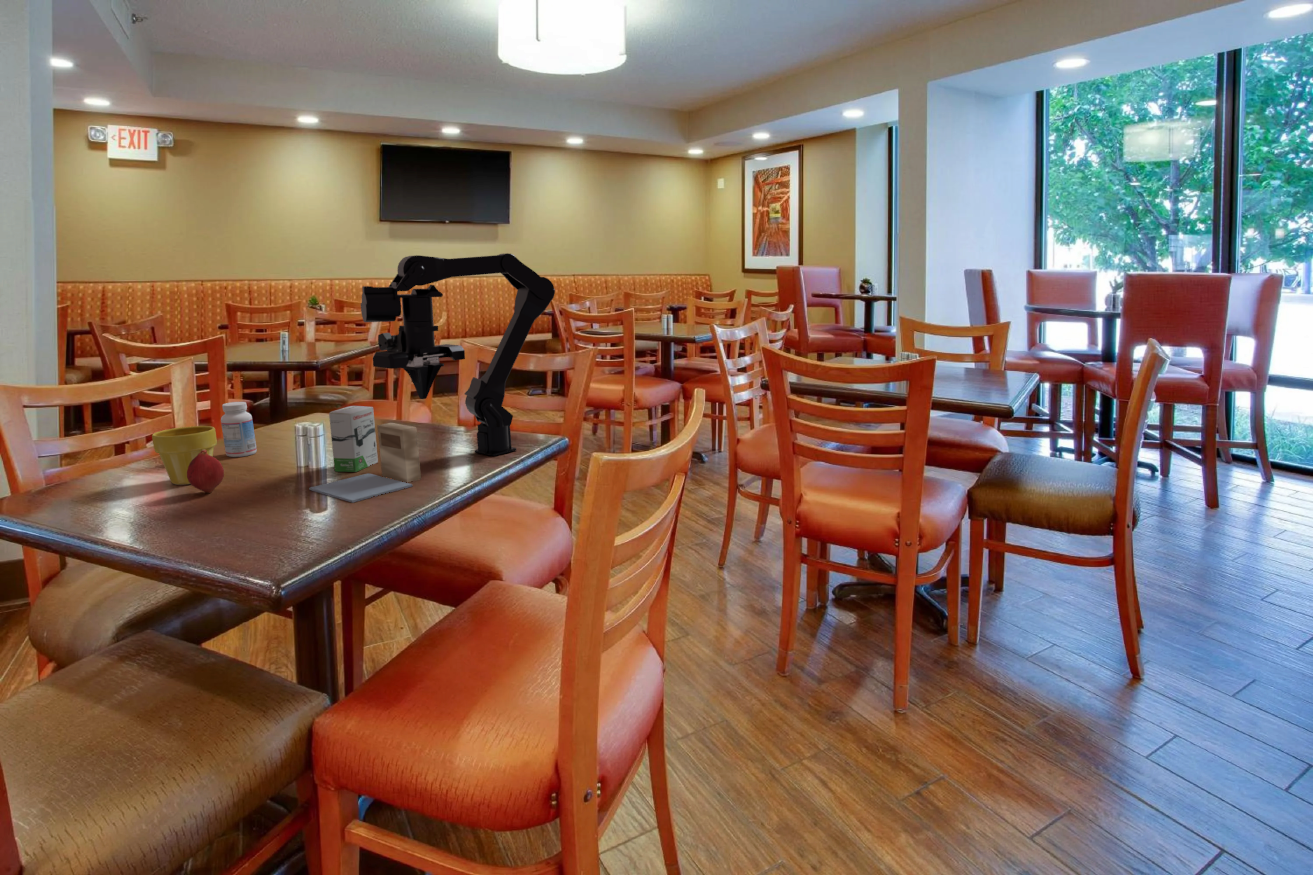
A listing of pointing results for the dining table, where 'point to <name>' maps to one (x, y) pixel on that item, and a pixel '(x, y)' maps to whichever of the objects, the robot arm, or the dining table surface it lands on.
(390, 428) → the maple slab
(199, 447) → the plant pot
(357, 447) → the ink box
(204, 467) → the onion
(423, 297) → the robot arm
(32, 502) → the dining table surface
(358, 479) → the rubber mat
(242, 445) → the pill bottle
